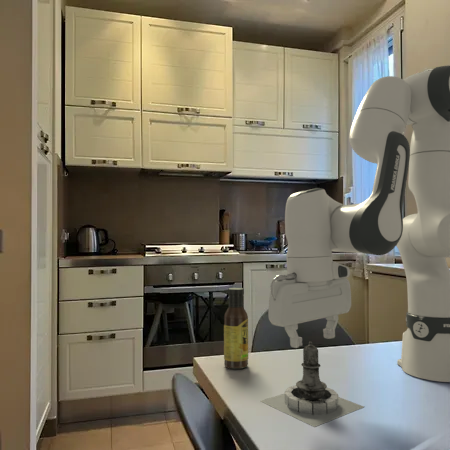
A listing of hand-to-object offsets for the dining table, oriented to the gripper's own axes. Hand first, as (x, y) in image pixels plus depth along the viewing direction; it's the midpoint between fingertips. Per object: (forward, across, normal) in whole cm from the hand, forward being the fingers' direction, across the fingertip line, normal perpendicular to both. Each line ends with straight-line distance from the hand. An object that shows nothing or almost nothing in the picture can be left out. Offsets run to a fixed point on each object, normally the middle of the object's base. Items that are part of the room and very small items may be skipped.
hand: (313, 342), depth 79 cm
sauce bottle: (+12, +3, +29) cm, 32 cm away
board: (+12, -1, 0) cm, 12 cm away
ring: (+12, -1, 0) cm, 12 cm away
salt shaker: (+12, -1, 0) cm, 12 cm away
